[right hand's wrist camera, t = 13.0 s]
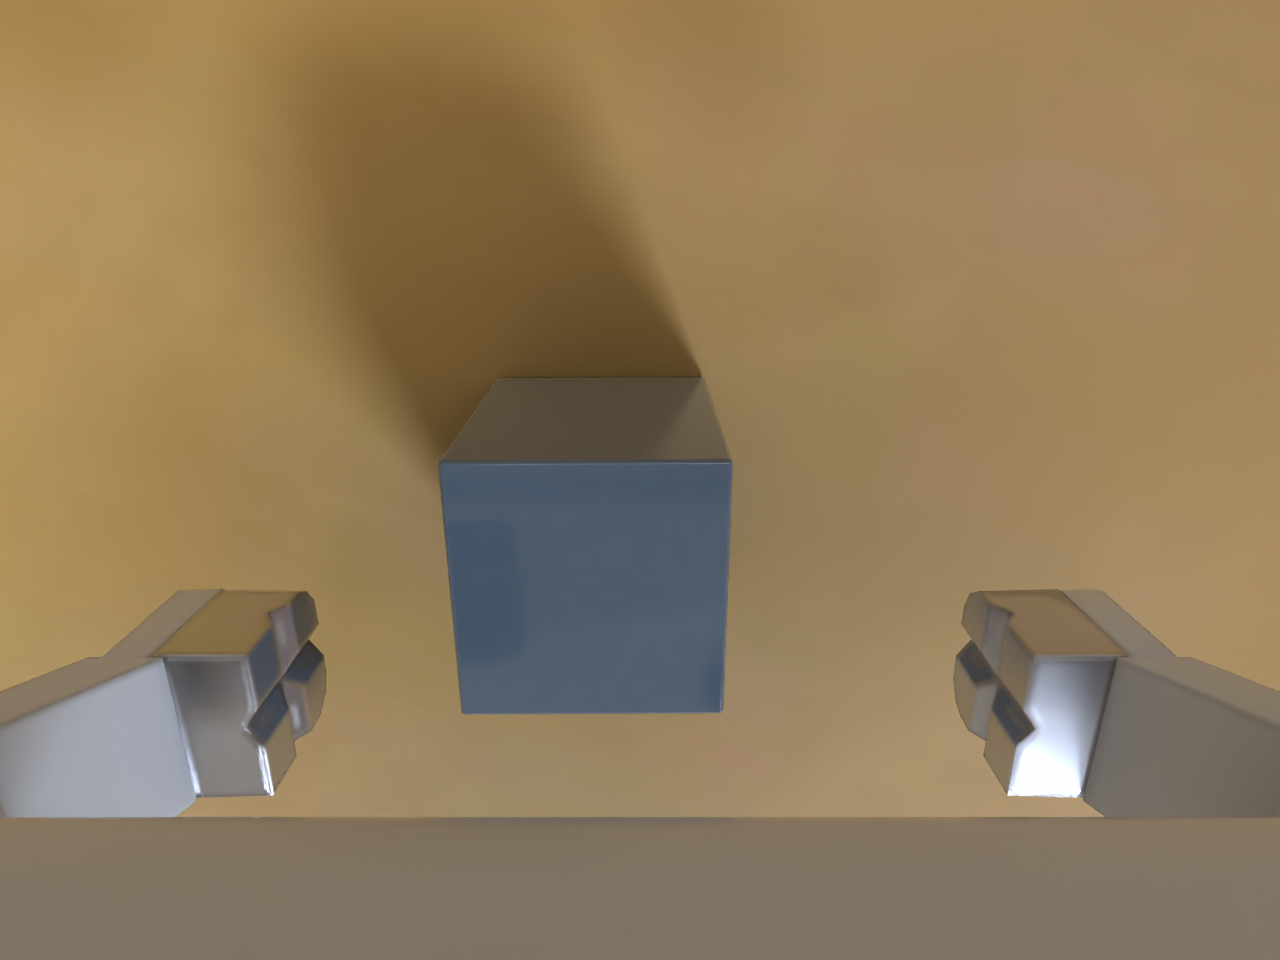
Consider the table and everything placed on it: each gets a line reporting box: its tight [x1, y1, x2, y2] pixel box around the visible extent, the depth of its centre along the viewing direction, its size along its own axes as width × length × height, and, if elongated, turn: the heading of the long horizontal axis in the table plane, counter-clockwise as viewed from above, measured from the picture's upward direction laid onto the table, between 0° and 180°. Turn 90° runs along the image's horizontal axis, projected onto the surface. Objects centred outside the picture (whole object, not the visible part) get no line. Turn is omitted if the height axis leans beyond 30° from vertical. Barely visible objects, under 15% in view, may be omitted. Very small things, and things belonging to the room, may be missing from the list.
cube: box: [438, 377, 733, 714], centre depth 14 cm, size 4×4×5 cm
